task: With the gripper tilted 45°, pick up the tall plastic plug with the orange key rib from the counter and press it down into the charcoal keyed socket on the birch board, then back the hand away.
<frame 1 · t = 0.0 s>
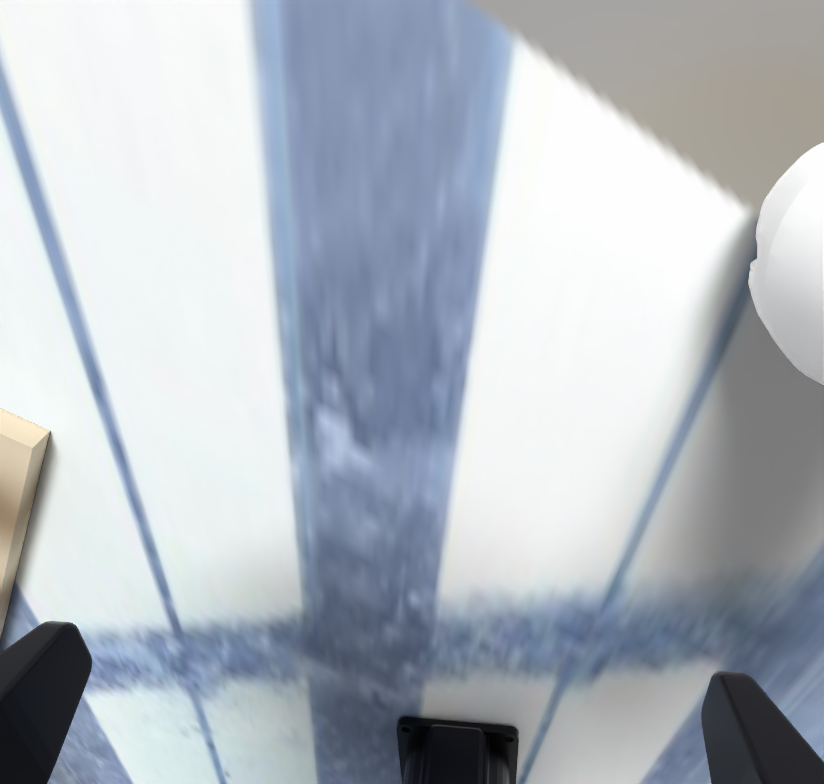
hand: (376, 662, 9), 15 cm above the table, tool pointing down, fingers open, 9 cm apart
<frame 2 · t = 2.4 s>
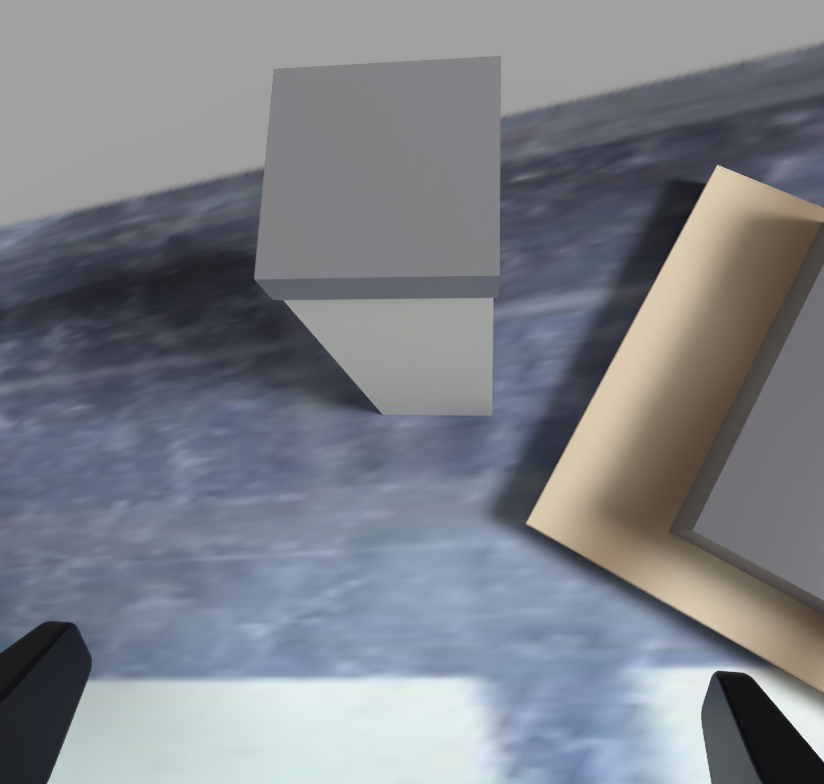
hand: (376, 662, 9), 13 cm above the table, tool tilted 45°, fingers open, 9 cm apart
plug: (438, 362, 24), on the table
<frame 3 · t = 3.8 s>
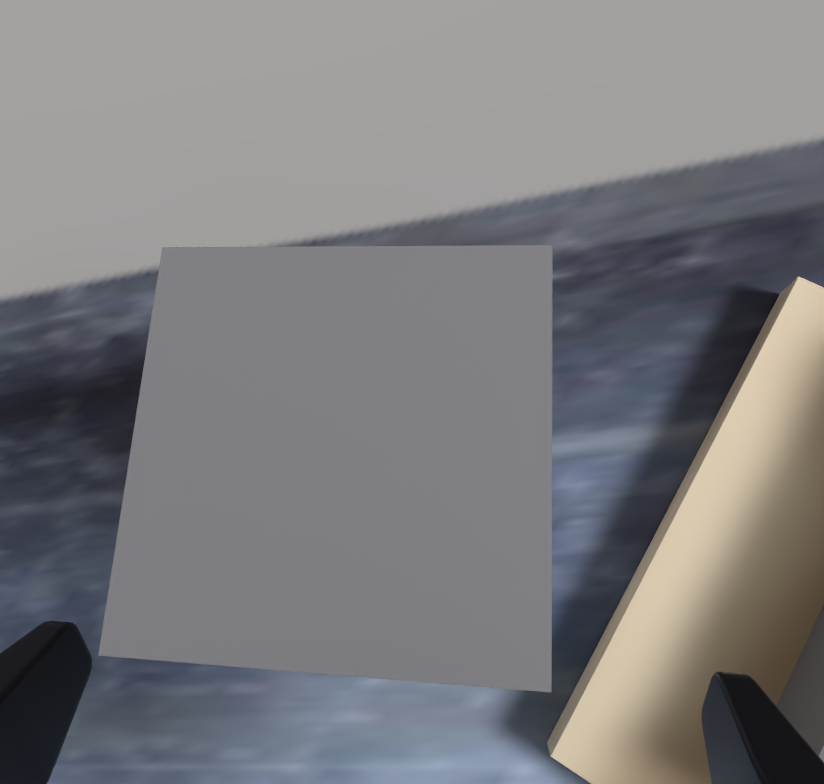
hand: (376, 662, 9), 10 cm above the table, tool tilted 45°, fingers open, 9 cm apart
plug: (438, 515, 19), on the table
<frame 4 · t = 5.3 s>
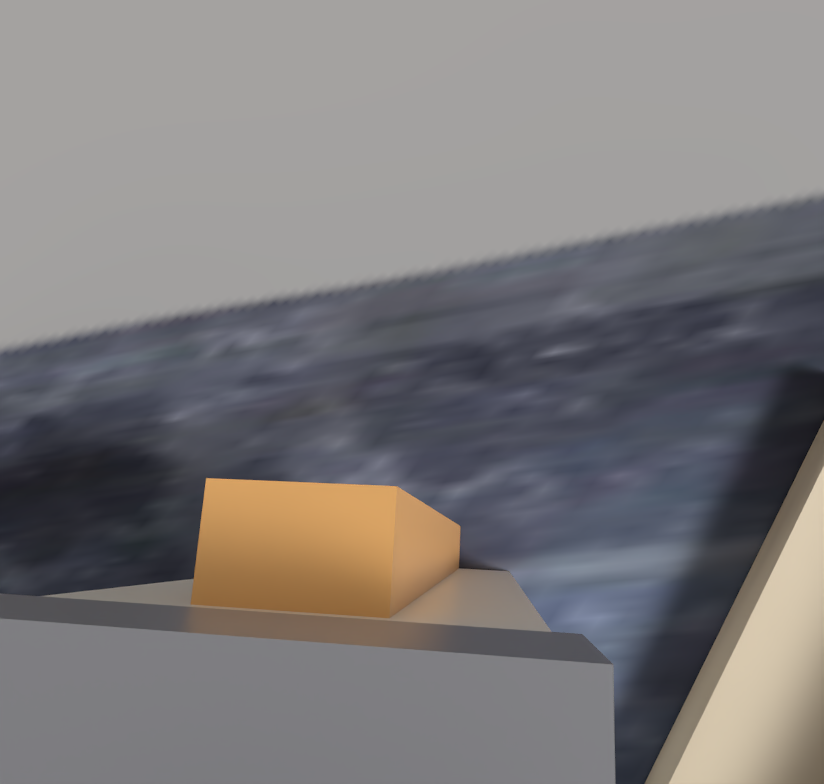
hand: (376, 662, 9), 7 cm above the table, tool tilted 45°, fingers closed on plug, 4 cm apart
plug: (422, 653, 15), on the table, touching gripper
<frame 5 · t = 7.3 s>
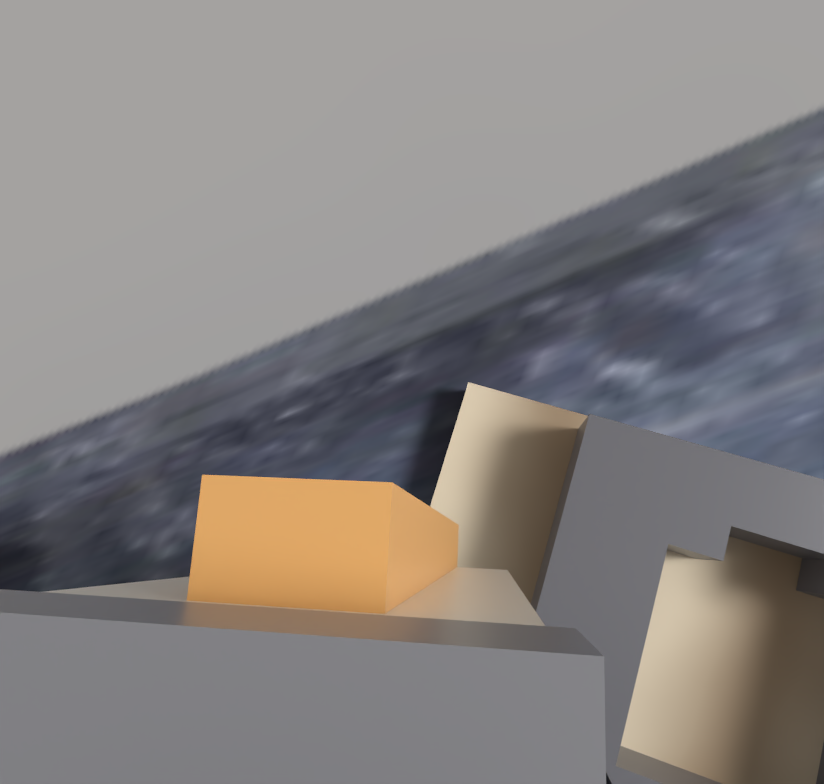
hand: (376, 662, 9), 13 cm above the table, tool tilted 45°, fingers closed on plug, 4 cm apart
socket: (739, 680, 18), on the board, point 2 cm above the table
board: (711, 665, 21), on the table
plug: (420, 652, 15), point 7 cm above the table, touching gripper
when the fingers open (8 cm above the table, at t = 9.6 s): plug stays where it is, resting on board.
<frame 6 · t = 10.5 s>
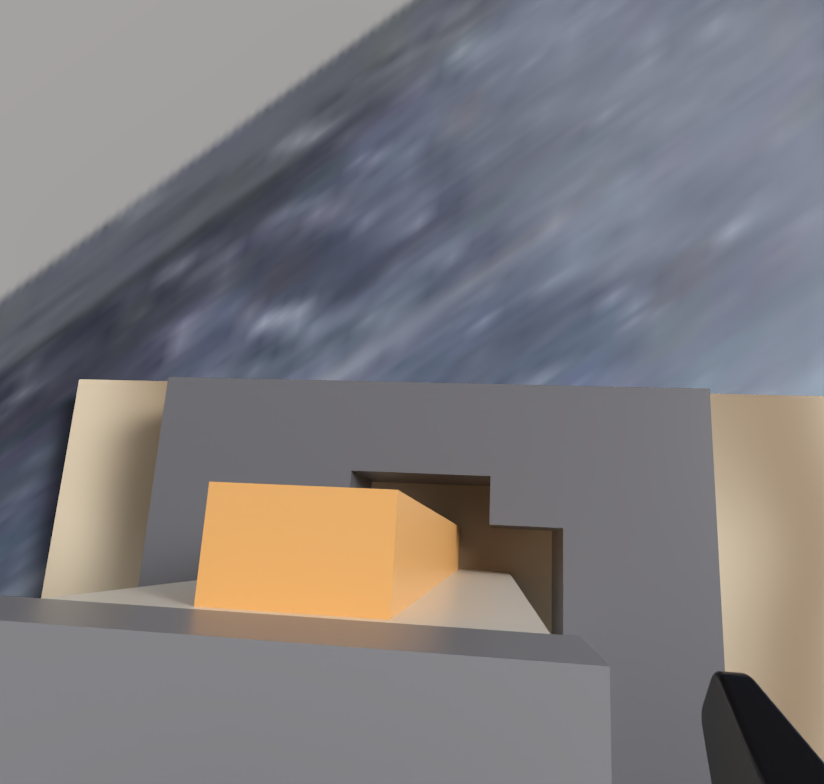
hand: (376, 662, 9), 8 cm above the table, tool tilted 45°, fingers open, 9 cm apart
socket: (416, 662, 14), on the board, point 2 cm above the table
board: (427, 645, 16), on the table
plug: (422, 654, 15), point 1 cm above the table, touching board
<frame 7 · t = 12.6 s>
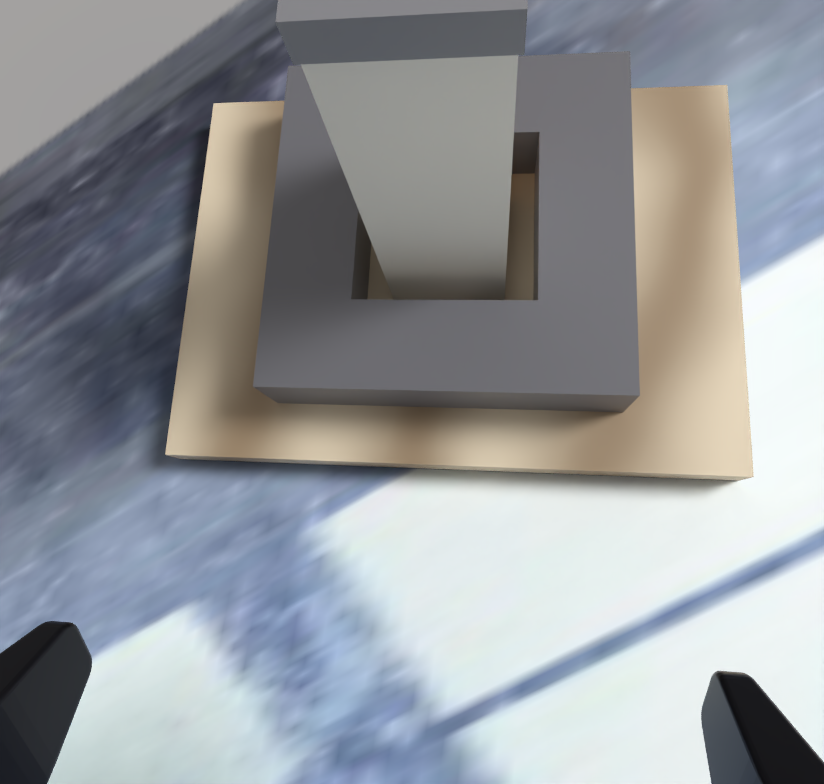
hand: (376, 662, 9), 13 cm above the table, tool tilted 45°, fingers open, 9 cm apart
socket: (449, 232, 22), on the board, point 2 cm above the table
board: (452, 261, 25), on the table
plug: (450, 248, 24), point 1 cm above the table, touching board
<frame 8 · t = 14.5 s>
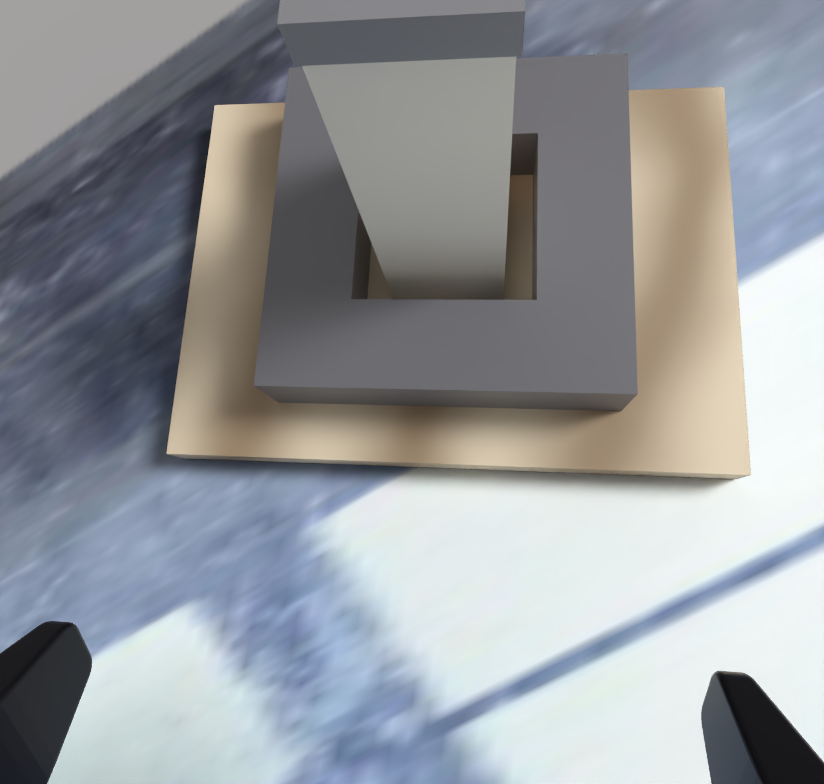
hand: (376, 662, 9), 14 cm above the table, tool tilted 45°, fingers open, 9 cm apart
socket: (448, 232, 23), on the board, point 2 cm above the table
board: (452, 262, 25), on the table
plug: (450, 249, 24), point 1 cm above the table, touching board
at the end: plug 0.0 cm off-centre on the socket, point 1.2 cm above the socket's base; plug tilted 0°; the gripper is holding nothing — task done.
